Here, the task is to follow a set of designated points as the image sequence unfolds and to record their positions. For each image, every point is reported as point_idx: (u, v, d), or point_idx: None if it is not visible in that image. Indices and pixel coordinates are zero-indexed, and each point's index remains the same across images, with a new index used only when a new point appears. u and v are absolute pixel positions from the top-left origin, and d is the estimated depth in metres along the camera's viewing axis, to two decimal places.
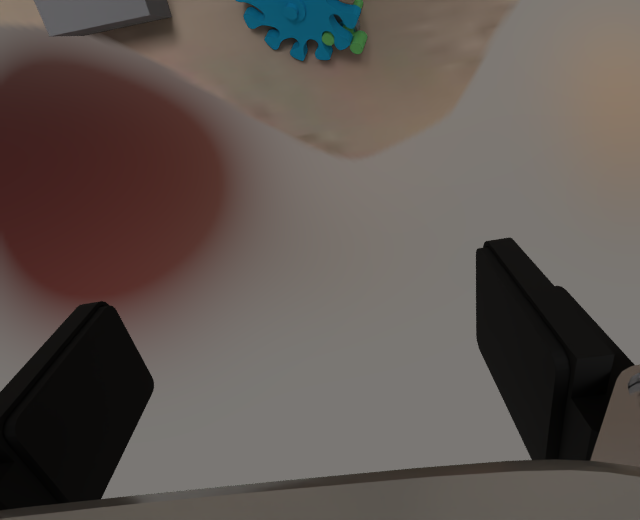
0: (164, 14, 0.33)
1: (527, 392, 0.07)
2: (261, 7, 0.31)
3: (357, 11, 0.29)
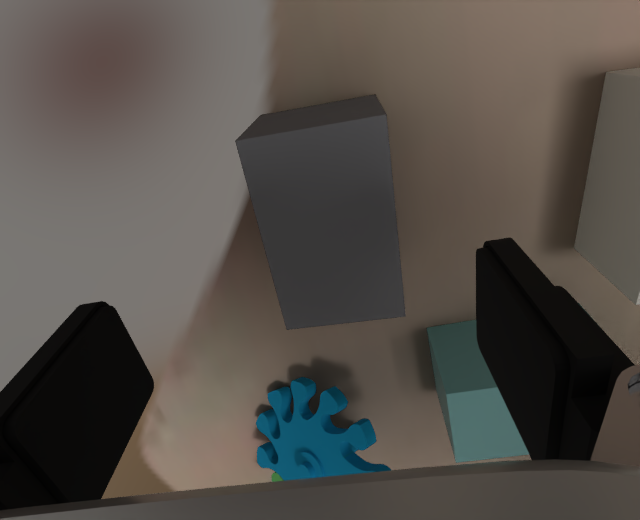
0: None
1: (527, 392, 0.07)
2: (312, 423, 0.23)
3: None
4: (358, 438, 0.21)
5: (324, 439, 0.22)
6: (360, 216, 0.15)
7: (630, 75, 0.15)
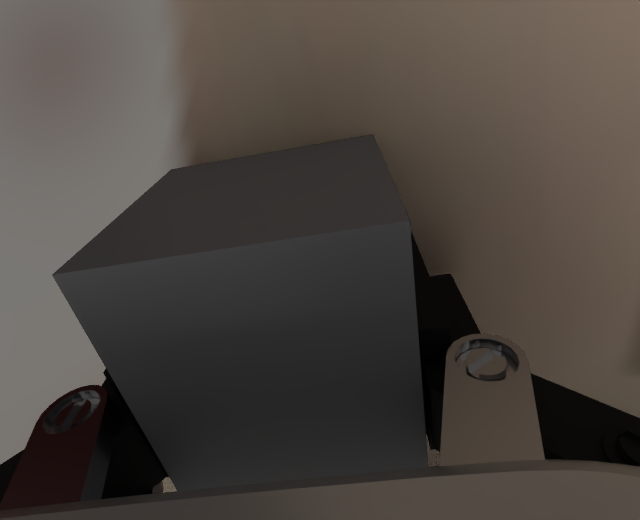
0: None
1: None
2: None
3: None
4: None
5: None
6: (348, 409, 0.07)
7: None
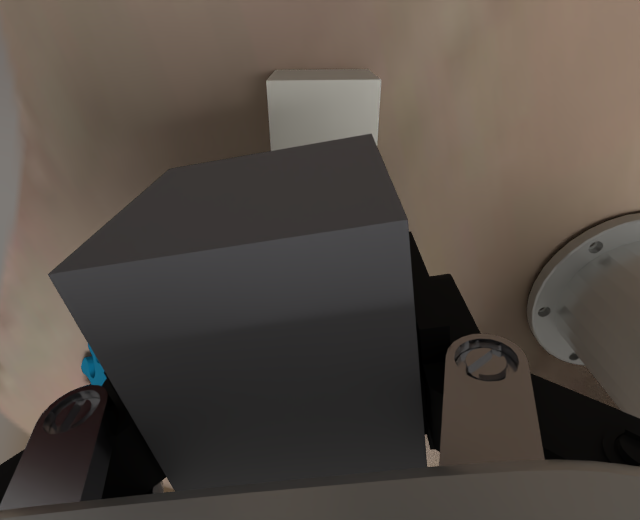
0: None
1: None
2: None
3: None
4: None
5: None
6: (347, 409, 0.07)
7: (273, 73, 0.21)
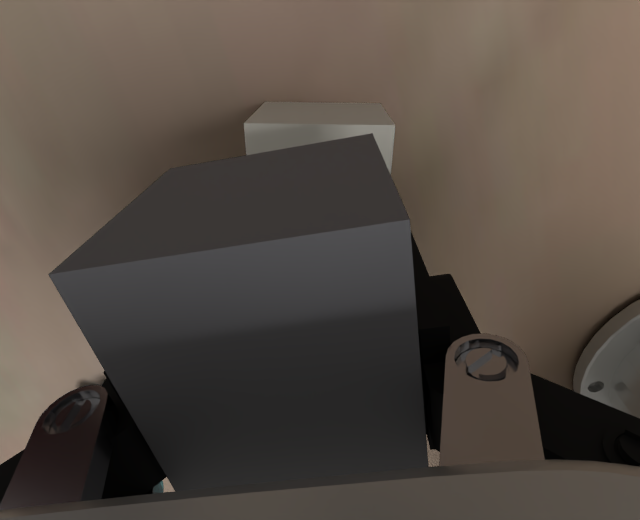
0: None
1: None
2: None
3: None
4: None
5: None
6: (348, 409, 0.07)
7: (260, 107, 0.16)
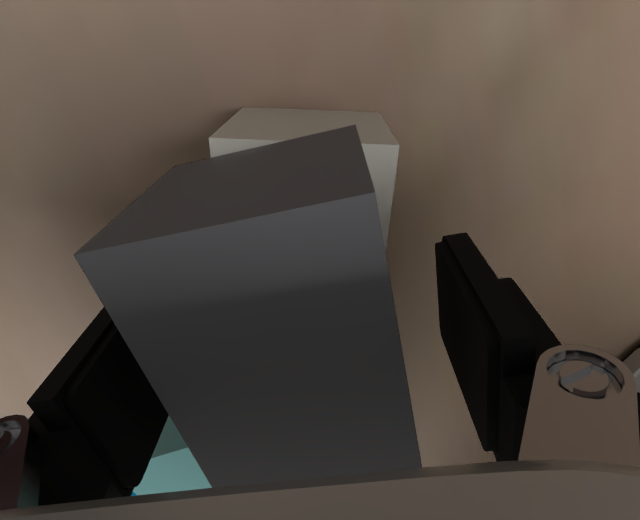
0: None
1: (473, 375, 0.08)
2: None
3: None
4: None
5: None
6: (337, 367, 0.08)
7: (235, 115, 0.14)
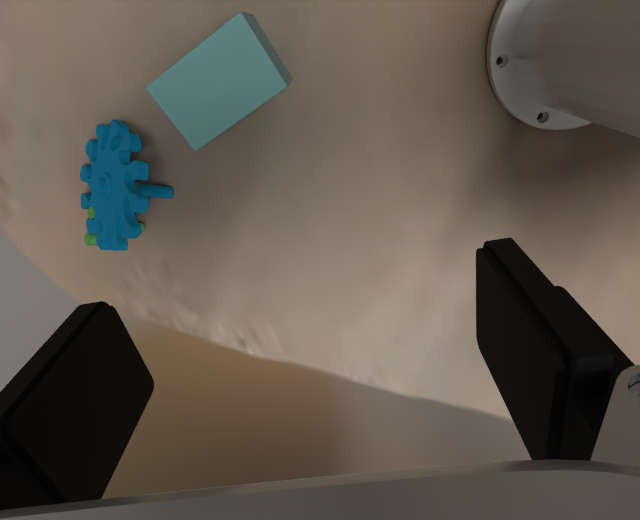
0: None
1: (527, 392, 0.07)
2: (106, 150, 0.31)
3: (107, 248, 0.32)
4: (126, 142, 0.29)
5: (111, 157, 0.30)
6: None
7: None
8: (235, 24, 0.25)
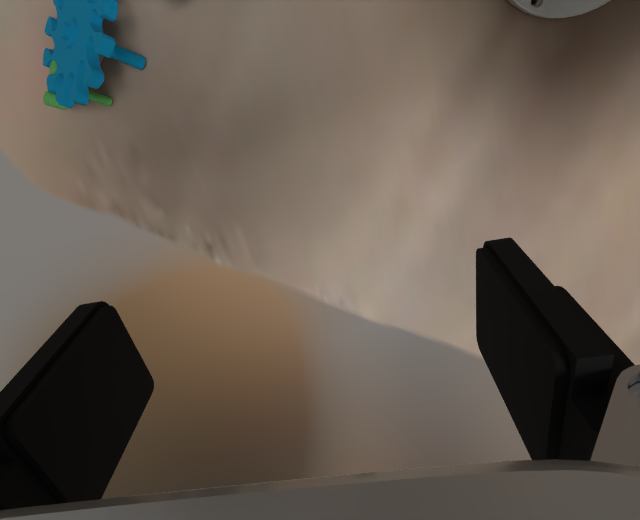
0: None
1: (527, 392, 0.07)
2: None
3: (66, 105, 0.30)
4: None
5: None
6: None
7: None
8: None
